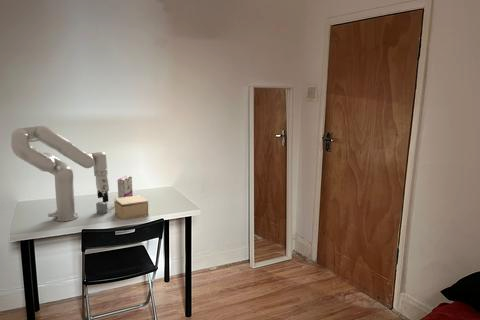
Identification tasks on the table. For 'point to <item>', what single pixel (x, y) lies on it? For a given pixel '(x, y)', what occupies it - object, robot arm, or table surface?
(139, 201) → the box lid
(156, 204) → the table surface
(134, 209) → the cardboard box
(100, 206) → the grey rounded blob
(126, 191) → the candy bar box
